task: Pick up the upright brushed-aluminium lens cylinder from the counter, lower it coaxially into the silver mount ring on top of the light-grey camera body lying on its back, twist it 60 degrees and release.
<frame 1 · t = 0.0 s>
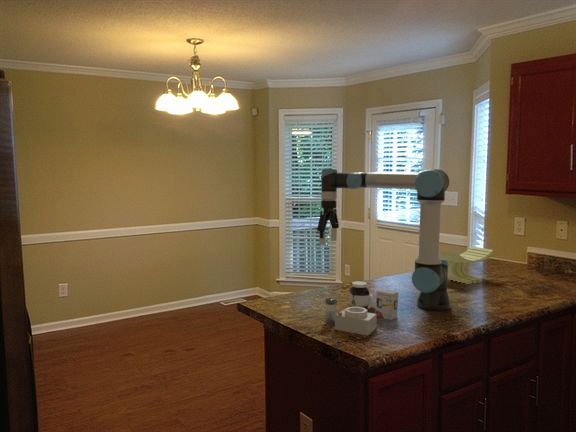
hand: (328, 242, 241), 28 cm above the worktop, tool pointing down, fingers open, 13 cm apart
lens: (330, 322, 207), on the worktop
spread jar: (363, 308, 229), on the worktop
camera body: (355, 328, 199), on the worktop
ink box: (386, 317, 215), on the worktop
slatted curved stool: (463, 280, 284), on the worktop
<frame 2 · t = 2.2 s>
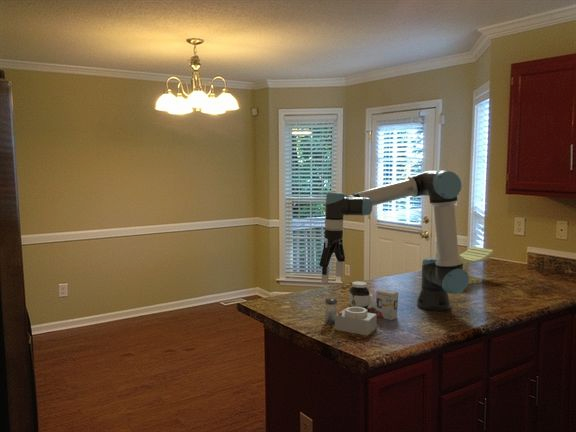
hand: (331, 279, 206), 18 cm above the worktop, tool pointing down, fingers open, 13 cm apart
nothing on the worktop moved.
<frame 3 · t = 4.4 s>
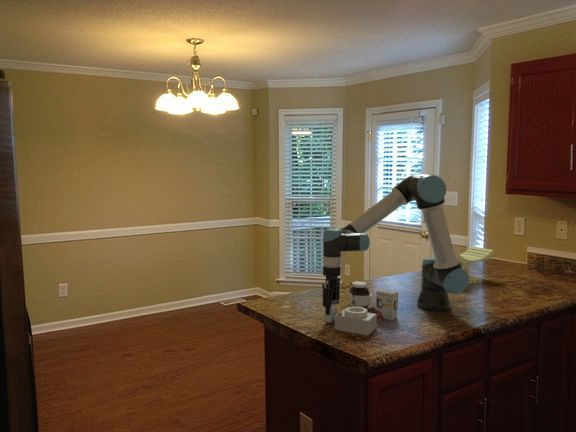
hand: (330, 320, 207), 1 cm above the worktop, tool pointing down, fingers closed on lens, 4 cm apart
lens: (330, 322, 207), on the worktop, touching gripper
everything else where it was.
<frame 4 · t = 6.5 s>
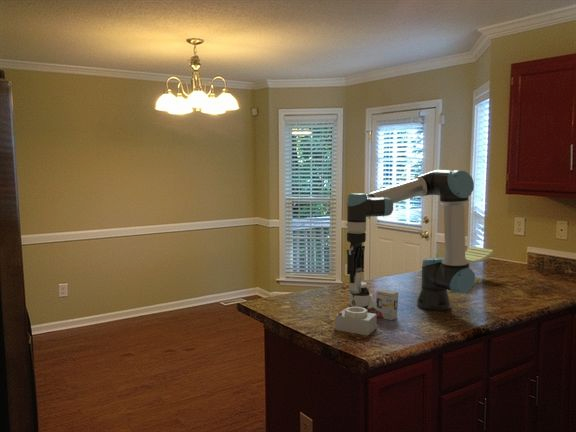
hand: (355, 289, 198), 17 cm above the worktop, tool pointing down, fingers closed on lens, 4 cm apart
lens: (355, 291, 198), point 15 cm above the worktop, touching gripper
everything else where it was.
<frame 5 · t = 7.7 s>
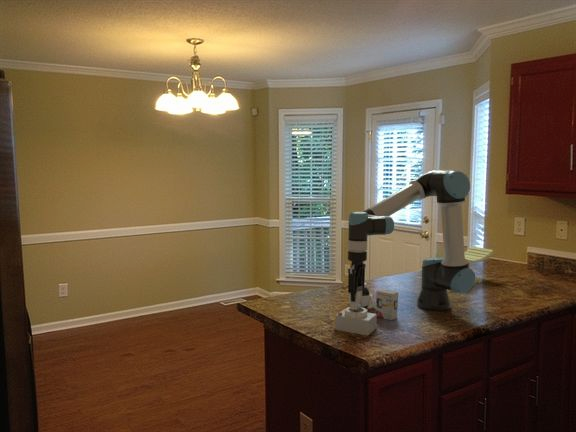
hand: (356, 307, 198), 9 cm above the worktop, tool pointing down, fingers closed on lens, 4 cm apart
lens: (355, 310, 198), point 8 cm above the worktop, touching gripper
everything else where it was.
when the fingers open (8 cm above the worktop, at t = 8.4 s): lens drops 1 cm, resting on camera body.
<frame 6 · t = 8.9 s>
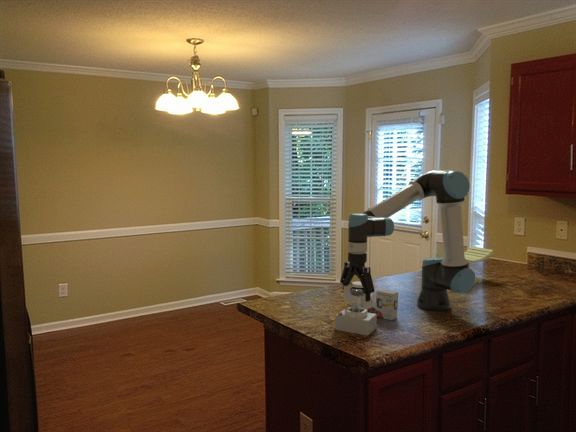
hand: (356, 305, 198), 10 cm above the worktop, tool pointing down, fingers open, 12 cm apart
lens: (356, 314, 199), point 6 cm above the worktop, touching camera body
everything else where it was.
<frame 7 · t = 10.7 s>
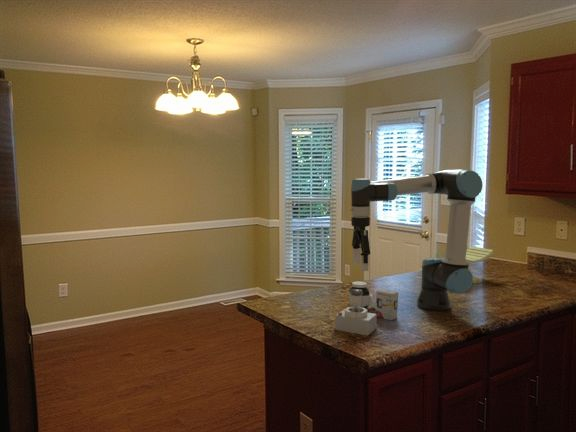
hand: (360, 267, 203), 24 cm above the worktop, tool pointing down, fingers open, 13 cm apart
nothing on the worktop moved.
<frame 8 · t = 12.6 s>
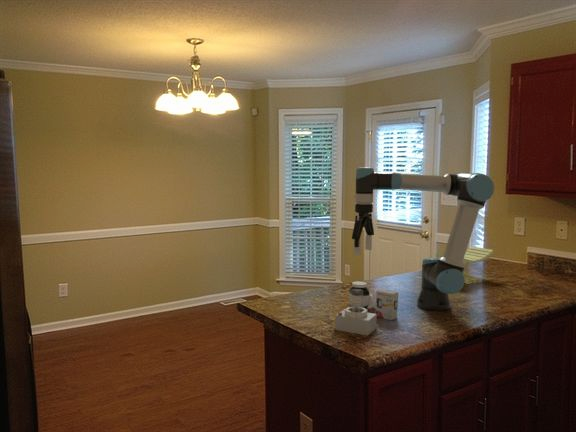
hand: (362, 252, 213), 29 cm above the worktop, tool pointing down, fingers open, 13 cm apart
nothing on the worktop moved.
at the end: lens 0.1 cm off-centre on the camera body, point 6.0 cm above the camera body's base; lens tilted 1°; the gripper is holding nothing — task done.
